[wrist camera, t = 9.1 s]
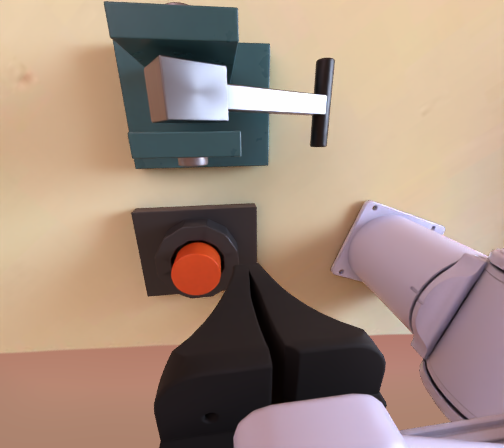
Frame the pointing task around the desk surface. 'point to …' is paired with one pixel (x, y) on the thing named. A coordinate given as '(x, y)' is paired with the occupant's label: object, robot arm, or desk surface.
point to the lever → (230, 95)
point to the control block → (193, 240)
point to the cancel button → (196, 269)
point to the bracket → (195, 48)
